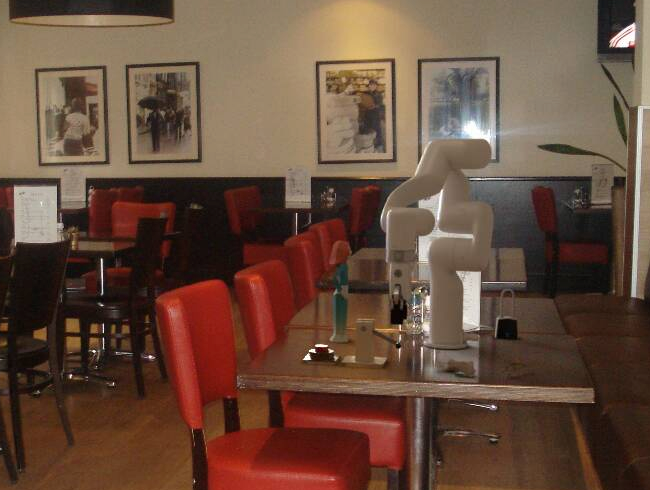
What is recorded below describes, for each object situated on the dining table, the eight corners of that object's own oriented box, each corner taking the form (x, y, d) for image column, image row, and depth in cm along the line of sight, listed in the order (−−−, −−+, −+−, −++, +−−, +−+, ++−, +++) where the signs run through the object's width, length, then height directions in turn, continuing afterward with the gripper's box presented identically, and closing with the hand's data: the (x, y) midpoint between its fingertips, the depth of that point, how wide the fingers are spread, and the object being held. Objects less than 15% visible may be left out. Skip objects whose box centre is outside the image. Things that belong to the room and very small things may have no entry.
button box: (340, 359, 284) (340, 349, 283) (335, 365, 276) (336, 354, 276) (308, 358, 286) (308, 347, 286) (302, 363, 278) (302, 352, 278)
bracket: (387, 362, 281) (387, 318, 279) (383, 368, 272) (383, 324, 271) (346, 359, 284) (347, 316, 283) (341, 366, 275) (341, 322, 274)
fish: (504, 380, 258) (505, 360, 258) (499, 379, 260) (499, 359, 259) (534, 374, 265) (535, 354, 265) (528, 373, 266) (529, 353, 266)
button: (329, 351, 282) (329, 344, 282) (327, 353, 279) (327, 347, 278) (316, 350, 283) (316, 344, 283) (313, 353, 280) (314, 346, 279)
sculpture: (349, 344, 306) (350, 242, 303) (326, 343, 307) (327, 242, 304) (352, 336, 318) (353, 238, 315) (330, 336, 320) (331, 238, 317)
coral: (437, 370, 270) (437, 353, 269) (478, 374, 265) (478, 357, 264) (431, 374, 265) (431, 357, 264) (472, 378, 260) (472, 361, 259)
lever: (400, 348, 277) (404, 340, 277) (398, 351, 272) (402, 343, 272) (359, 327, 280) (363, 319, 279) (356, 330, 275) (360, 322, 275)
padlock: (517, 336, 318) (518, 288, 317) (518, 339, 314) (520, 289, 312) (494, 336, 319) (495, 287, 318) (495, 338, 315) (497, 289, 314)
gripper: (411, 260, 263) (410, 327, 265) (417, 254, 280) (416, 317, 281) (381, 259, 265) (380, 325, 267) (389, 253, 282) (388, 316, 283)
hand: (398, 321), depth 274 cm, fingers open, 9 cm apart
